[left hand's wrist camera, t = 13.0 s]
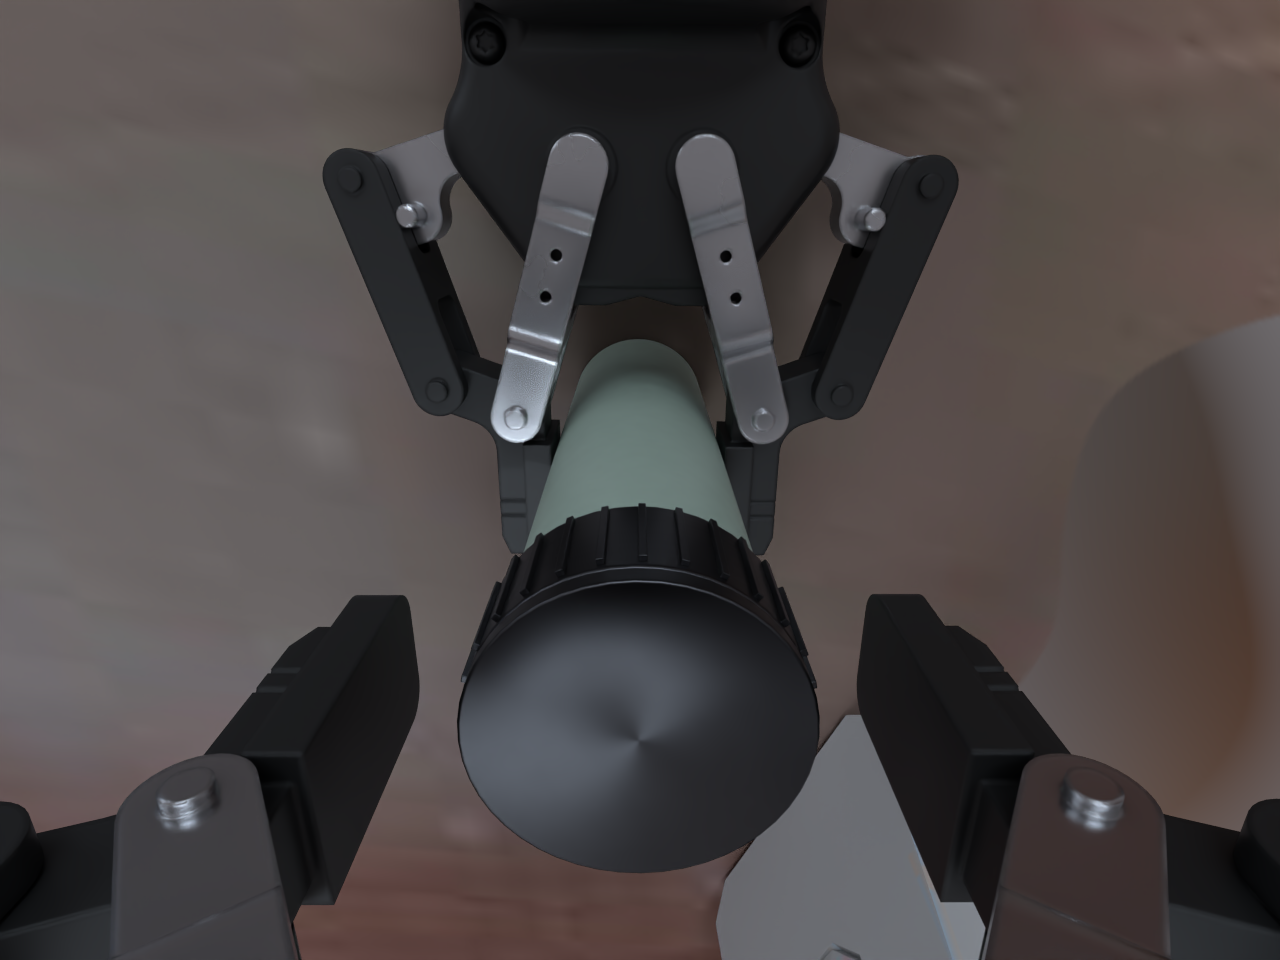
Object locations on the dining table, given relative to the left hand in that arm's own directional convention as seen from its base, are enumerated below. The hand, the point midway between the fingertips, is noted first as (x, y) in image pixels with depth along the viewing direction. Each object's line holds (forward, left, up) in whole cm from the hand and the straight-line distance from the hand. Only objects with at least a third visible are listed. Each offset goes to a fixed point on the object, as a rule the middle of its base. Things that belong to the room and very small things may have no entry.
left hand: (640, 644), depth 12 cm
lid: (0, 0, +2) cm, 2 cm away
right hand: (+2, -1, -8) cm, 8 cm away
